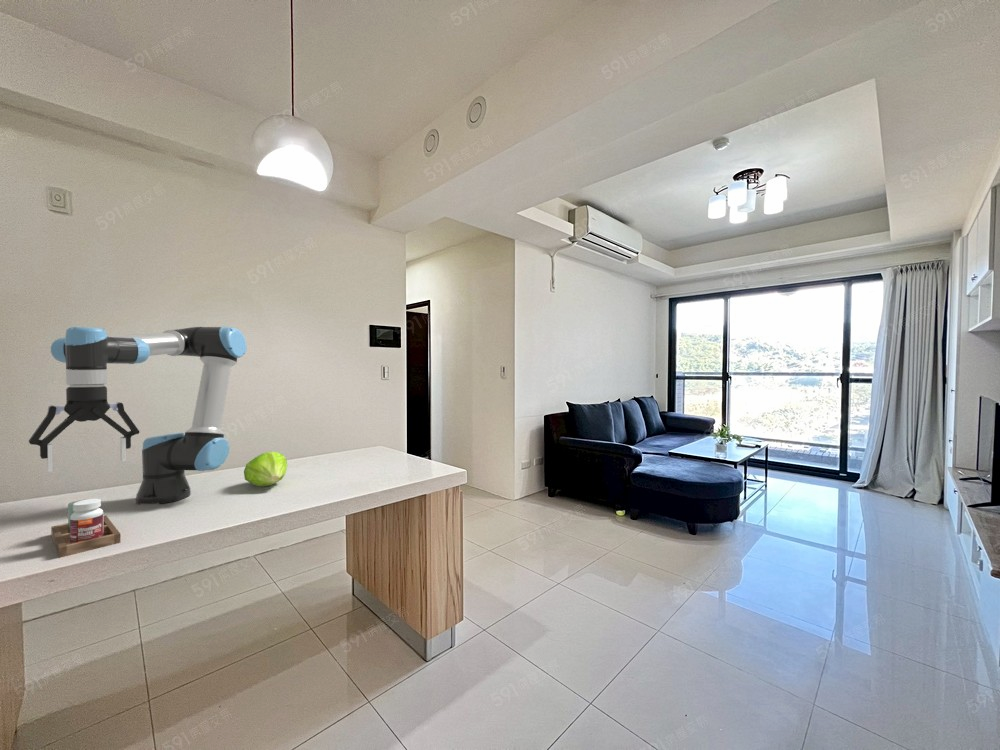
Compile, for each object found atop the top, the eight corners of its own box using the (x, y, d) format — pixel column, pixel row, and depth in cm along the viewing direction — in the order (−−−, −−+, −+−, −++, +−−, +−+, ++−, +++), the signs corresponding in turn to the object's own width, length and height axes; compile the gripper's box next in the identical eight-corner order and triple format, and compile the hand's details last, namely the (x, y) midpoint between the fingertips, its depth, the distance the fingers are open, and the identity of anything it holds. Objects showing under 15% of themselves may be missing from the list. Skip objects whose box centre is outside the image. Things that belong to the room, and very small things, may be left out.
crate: (106, 525, 120) (106, 515, 120) (120, 544, 107) (120, 533, 107) (51, 537, 111) (51, 526, 111) (59, 560, 98) (59, 547, 98)
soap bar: (95, 528, 116) (95, 497, 116) (98, 533, 113) (98, 501, 112) (67, 534, 112) (66, 502, 112) (69, 539, 108) (68, 507, 108)
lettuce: (250, 495, 148) (250, 459, 148) (240, 483, 163) (240, 451, 163) (294, 488, 159) (294, 454, 159) (281, 477, 174) (281, 446, 173)
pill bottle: (77, 550, 102) (77, 506, 102) (65, 546, 104) (64, 503, 104) (108, 541, 108) (108, 499, 107) (96, 537, 110) (95, 496, 110)
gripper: (145, 383, 118) (146, 455, 118) (12, 387, 98) (13, 472, 98) (152, 384, 113) (153, 459, 113) (13, 388, 93) (15, 478, 94)
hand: (88, 465), depth 106 cm, fingers open, 13 cm apart
